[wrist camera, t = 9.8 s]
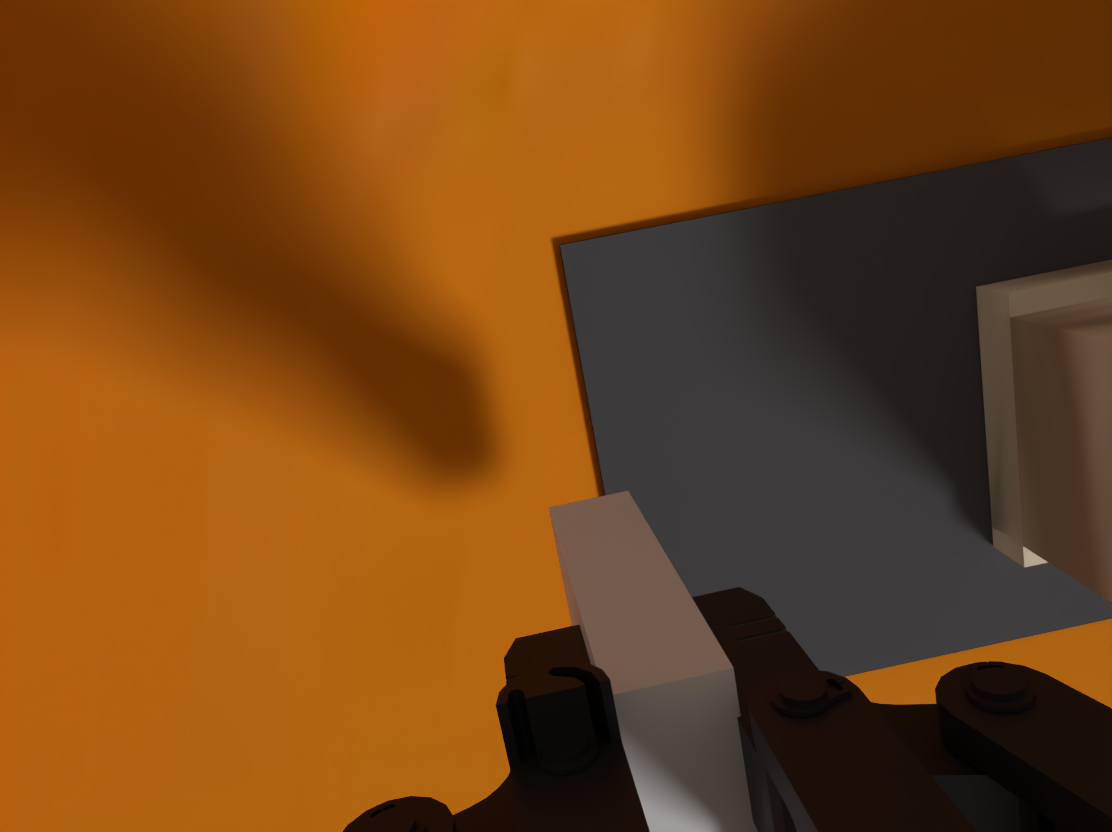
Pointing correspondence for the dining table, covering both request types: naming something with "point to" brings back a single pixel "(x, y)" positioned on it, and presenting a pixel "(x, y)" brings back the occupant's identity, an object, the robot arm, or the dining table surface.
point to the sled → (1050, 419)
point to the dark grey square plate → (835, 399)
